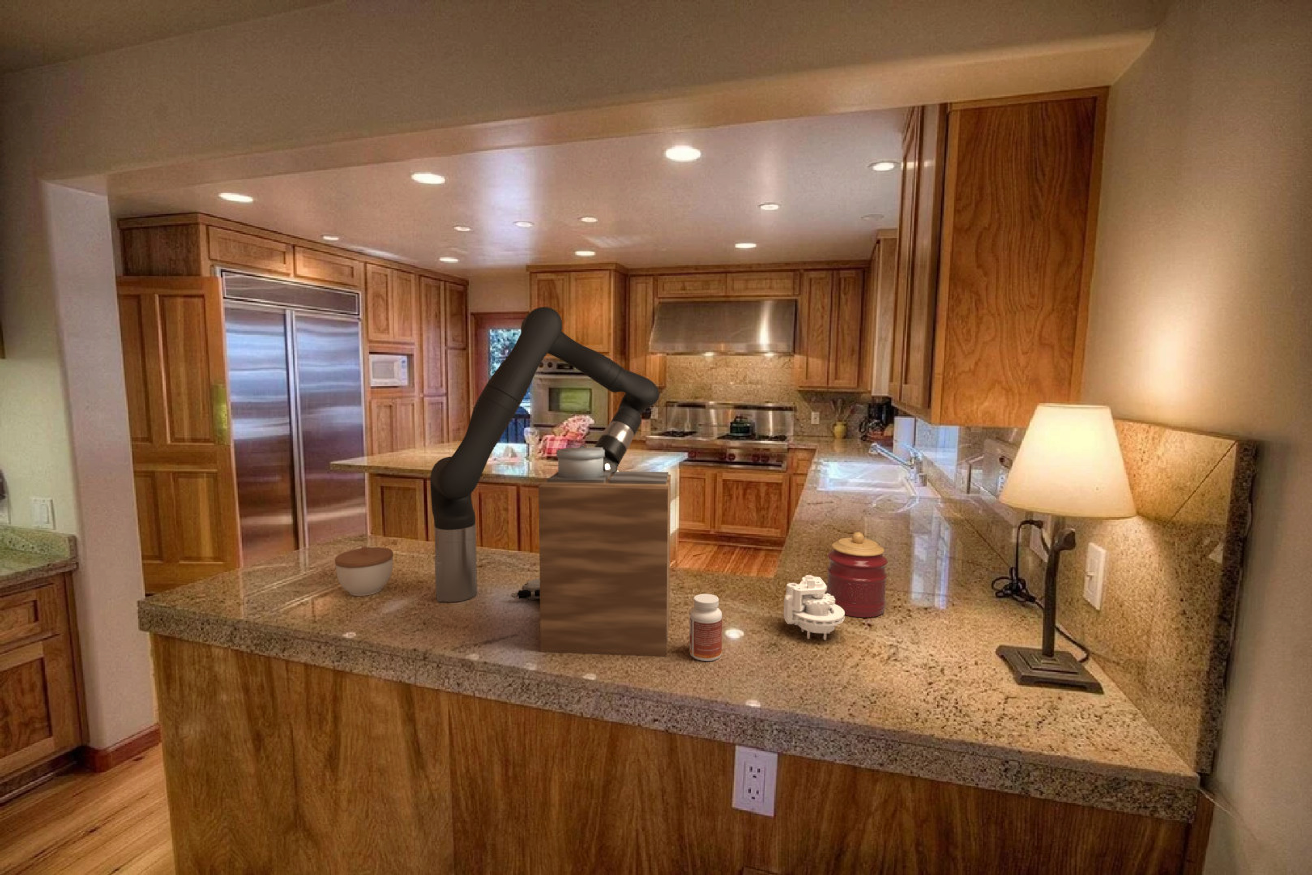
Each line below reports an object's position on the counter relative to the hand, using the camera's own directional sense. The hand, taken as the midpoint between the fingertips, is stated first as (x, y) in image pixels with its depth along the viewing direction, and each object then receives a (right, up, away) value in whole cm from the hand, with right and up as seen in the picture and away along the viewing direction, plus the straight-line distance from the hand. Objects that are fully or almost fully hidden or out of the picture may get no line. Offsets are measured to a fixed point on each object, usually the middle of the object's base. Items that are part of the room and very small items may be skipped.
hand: (583, 495), depth 137 cm
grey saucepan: (+3, +7, -15) cm, 17 cm away
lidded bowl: (-54, -24, +3) cm, 59 cm away
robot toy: (-8, -25, -2) cm, 26 cm away
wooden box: (+8, -26, -21) cm, 34 cm away
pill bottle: (+27, -28, -28) cm, 48 cm away
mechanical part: (+50, -27, -19) cm, 60 cm away
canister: (+63, -26, -5) cm, 69 cm away
